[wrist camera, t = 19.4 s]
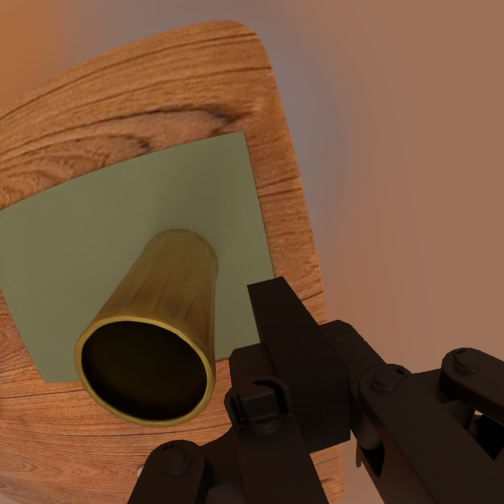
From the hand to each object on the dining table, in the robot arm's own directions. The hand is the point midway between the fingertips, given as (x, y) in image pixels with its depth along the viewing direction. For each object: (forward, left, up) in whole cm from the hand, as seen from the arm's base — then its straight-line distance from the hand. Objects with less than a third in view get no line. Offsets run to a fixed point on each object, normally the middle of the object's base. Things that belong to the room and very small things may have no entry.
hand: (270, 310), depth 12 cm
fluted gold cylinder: (+3, +4, -12) cm, 13 cm away
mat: (+6, +9, -12) cm, 16 cm away
